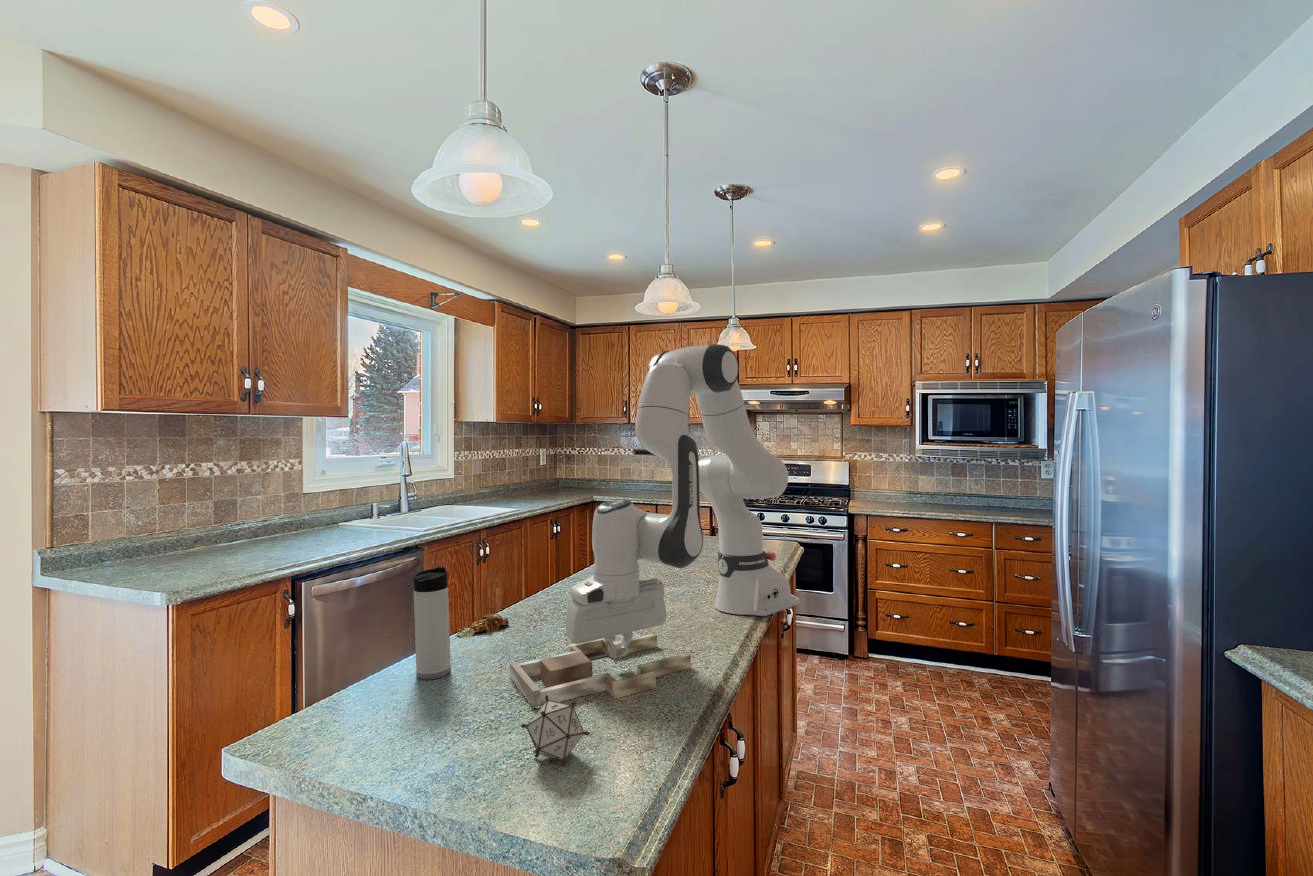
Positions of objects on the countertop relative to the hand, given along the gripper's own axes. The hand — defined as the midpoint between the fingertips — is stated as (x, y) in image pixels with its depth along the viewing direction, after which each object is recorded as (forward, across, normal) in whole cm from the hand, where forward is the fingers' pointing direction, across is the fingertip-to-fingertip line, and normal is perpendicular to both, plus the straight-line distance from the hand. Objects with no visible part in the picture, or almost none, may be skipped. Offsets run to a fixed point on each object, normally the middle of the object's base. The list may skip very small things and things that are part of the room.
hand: (619, 655), depth 115 cm
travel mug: (+2, +31, -18) cm, 36 cm away
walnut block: (+3, +11, 0) cm, 11 cm away
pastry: (+3, +17, -38) cm, 42 cm away
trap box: (+2, +4, 0) cm, 5 cm away
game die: (+2, +21, +23) cm, 32 cm away
